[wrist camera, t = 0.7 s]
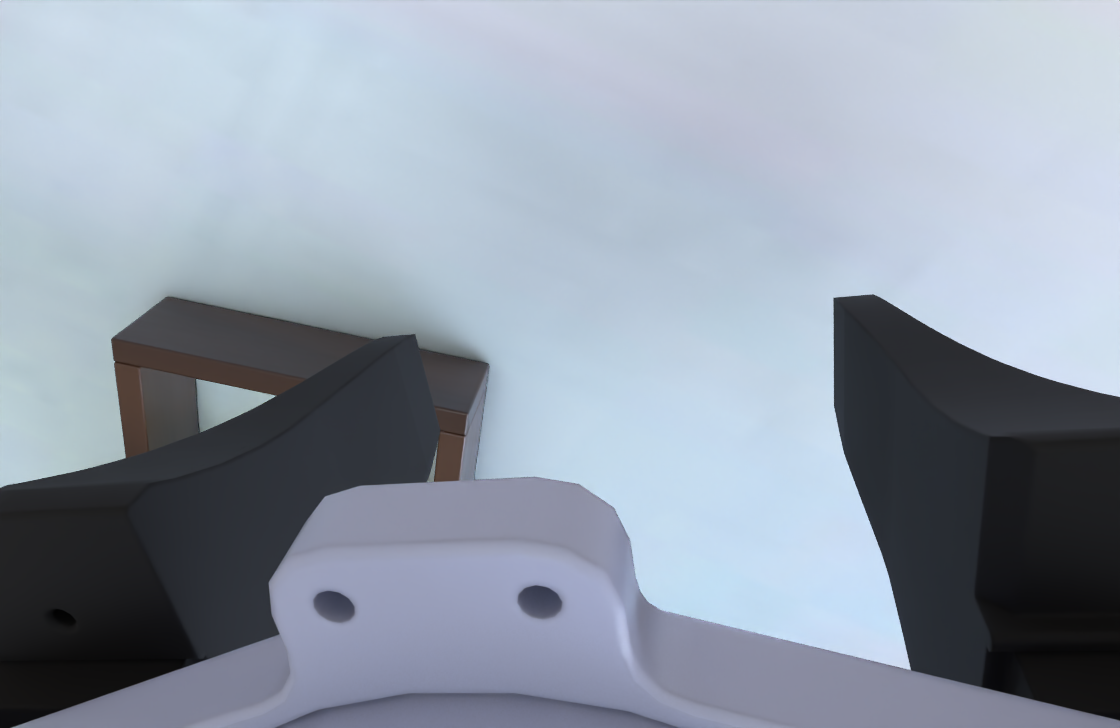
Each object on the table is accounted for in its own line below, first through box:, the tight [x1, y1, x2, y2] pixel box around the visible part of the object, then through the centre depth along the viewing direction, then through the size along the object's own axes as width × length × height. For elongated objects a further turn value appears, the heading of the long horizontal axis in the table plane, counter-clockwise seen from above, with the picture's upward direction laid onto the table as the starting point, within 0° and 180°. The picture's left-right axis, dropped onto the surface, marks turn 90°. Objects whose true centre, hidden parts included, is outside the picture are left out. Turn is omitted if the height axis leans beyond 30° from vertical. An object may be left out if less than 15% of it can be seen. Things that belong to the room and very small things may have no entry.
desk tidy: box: [111, 297, 490, 482], centre depth 28 cm, size 13×11×3 cm
